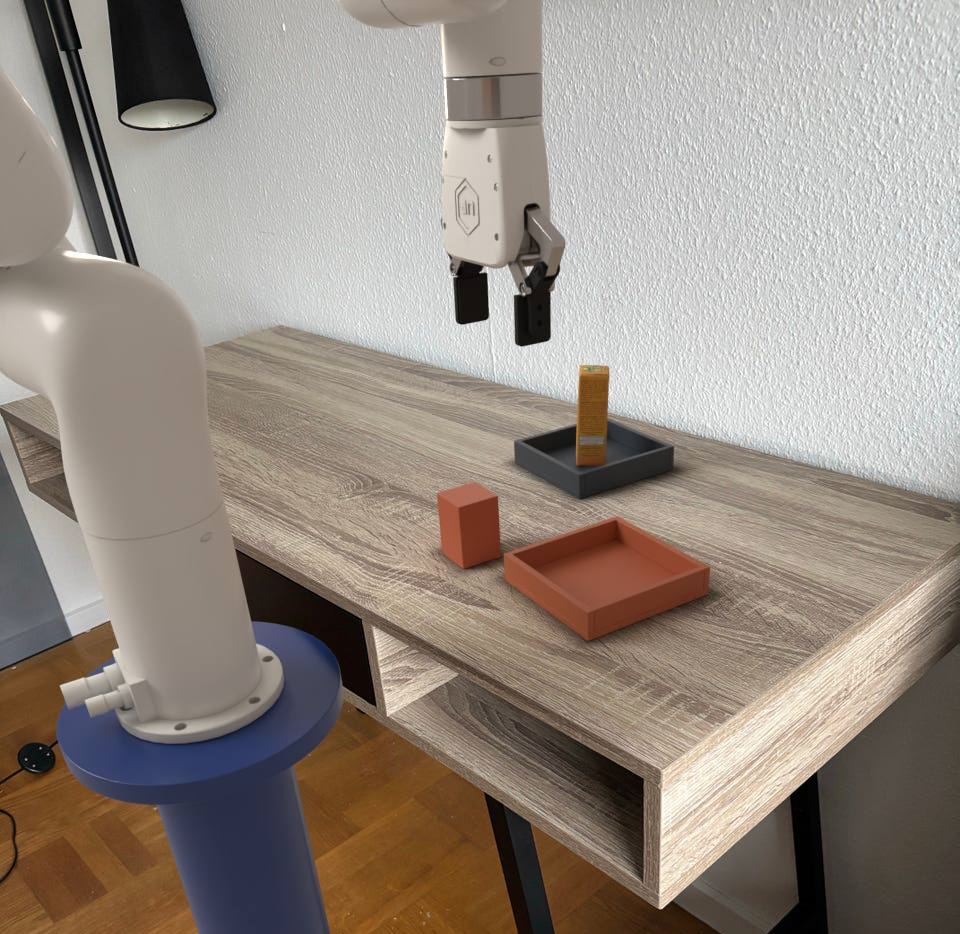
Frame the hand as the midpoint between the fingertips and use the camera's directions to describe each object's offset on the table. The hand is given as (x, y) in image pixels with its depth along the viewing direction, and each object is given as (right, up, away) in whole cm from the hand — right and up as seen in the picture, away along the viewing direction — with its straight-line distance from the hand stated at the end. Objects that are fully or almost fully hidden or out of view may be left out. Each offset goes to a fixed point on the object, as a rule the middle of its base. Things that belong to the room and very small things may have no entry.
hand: (501, 332), depth 81 cm
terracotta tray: (+9, -22, -1) cm, 24 cm away
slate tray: (+10, -8, +21) cm, 25 cm away
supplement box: (+10, -7, +21) cm, 24 cm away
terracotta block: (-3, -19, +5) cm, 20 cm away
